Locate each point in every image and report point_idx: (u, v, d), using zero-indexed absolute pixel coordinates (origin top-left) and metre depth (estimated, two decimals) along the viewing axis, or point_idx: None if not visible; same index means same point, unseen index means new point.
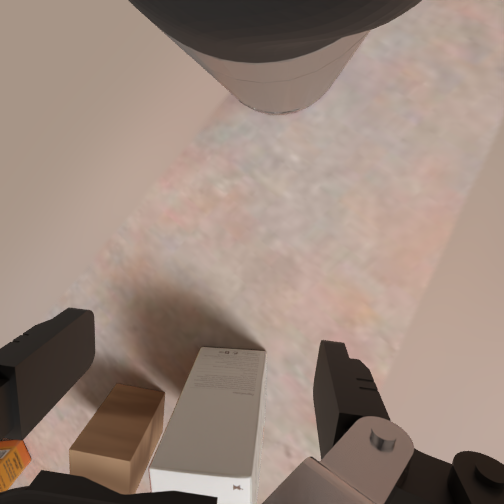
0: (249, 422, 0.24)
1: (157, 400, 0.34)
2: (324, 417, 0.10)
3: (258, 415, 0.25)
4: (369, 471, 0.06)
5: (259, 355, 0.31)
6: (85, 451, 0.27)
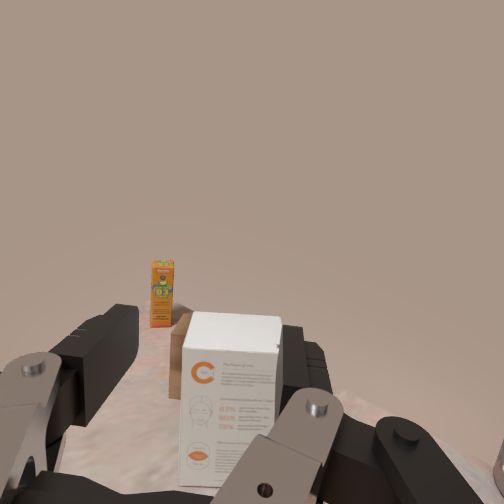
0: None
1: None
2: (277, 393, 0.10)
3: None
4: (309, 436, 0.07)
5: None
6: None
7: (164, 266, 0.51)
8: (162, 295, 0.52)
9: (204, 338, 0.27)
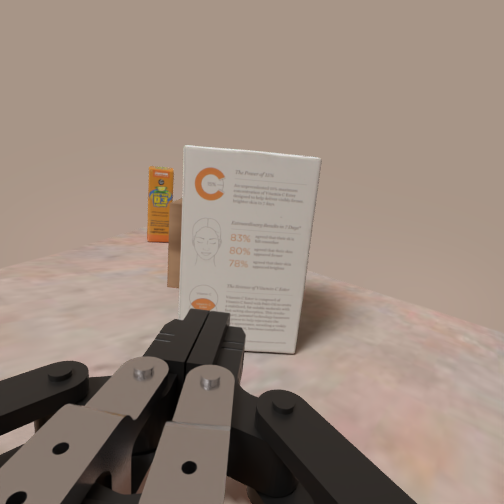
0: None
1: None
2: None
3: (308, 240, 0.21)
4: (211, 409, 0.08)
5: None
6: None
7: (163, 169, 0.46)
8: (160, 203, 0.46)
9: (211, 147, 0.21)
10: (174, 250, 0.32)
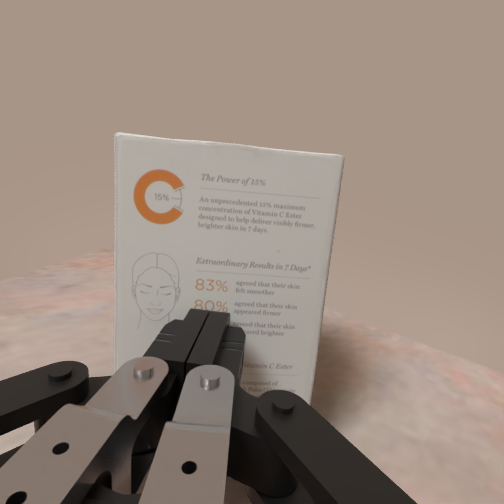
0: None
1: None
2: None
3: (323, 288, 0.13)
4: (212, 409, 0.08)
5: None
6: None
7: None
8: None
9: None
10: None
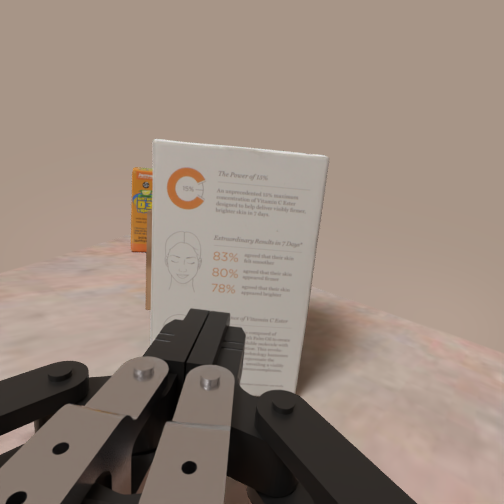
0: None
1: None
2: None
3: (312, 260, 0.17)
4: (211, 409, 0.08)
5: None
6: None
7: (148, 170, 0.40)
8: (145, 209, 0.41)
9: None
10: None
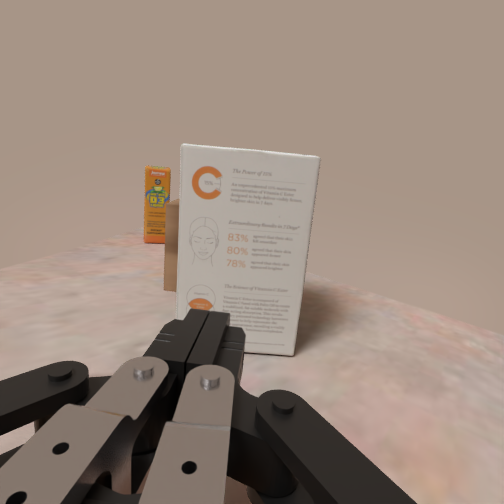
0: None
1: None
2: None
3: (307, 240, 0.21)
4: (211, 409, 0.08)
5: None
6: None
7: (159, 168, 0.44)
8: (157, 204, 0.45)
9: None
10: (171, 252, 0.31)
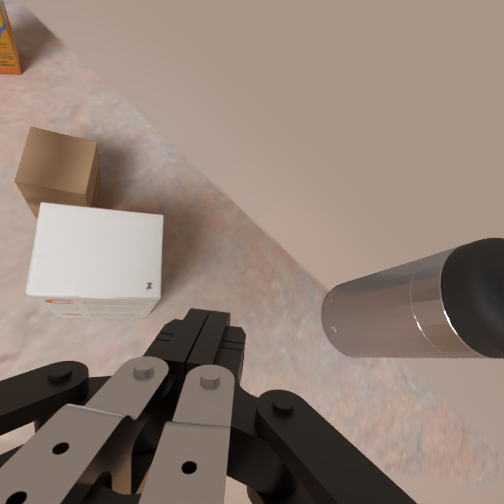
0: None
1: None
2: None
3: (152, 307, 0.28)
4: (211, 409, 0.08)
5: None
6: (93, 156, 0.30)
7: None
8: None
9: (55, 274, 0.22)
10: (34, 204, 0.31)
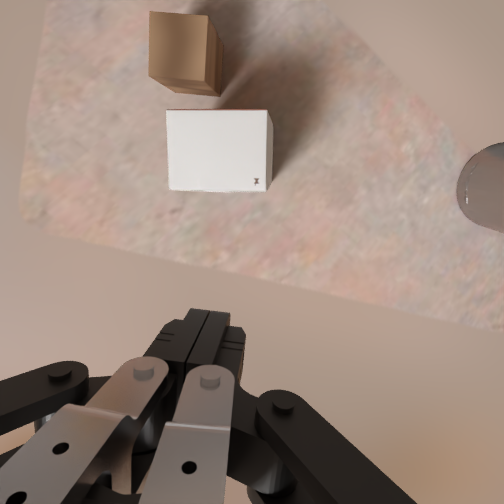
0: (269, 181, 0.31)
1: (218, 91, 0.37)
2: None
3: None
4: (211, 409, 0.08)
5: None
6: (207, 34, 0.30)
7: None
8: None
9: (185, 173, 0.28)
10: (170, 86, 0.35)
